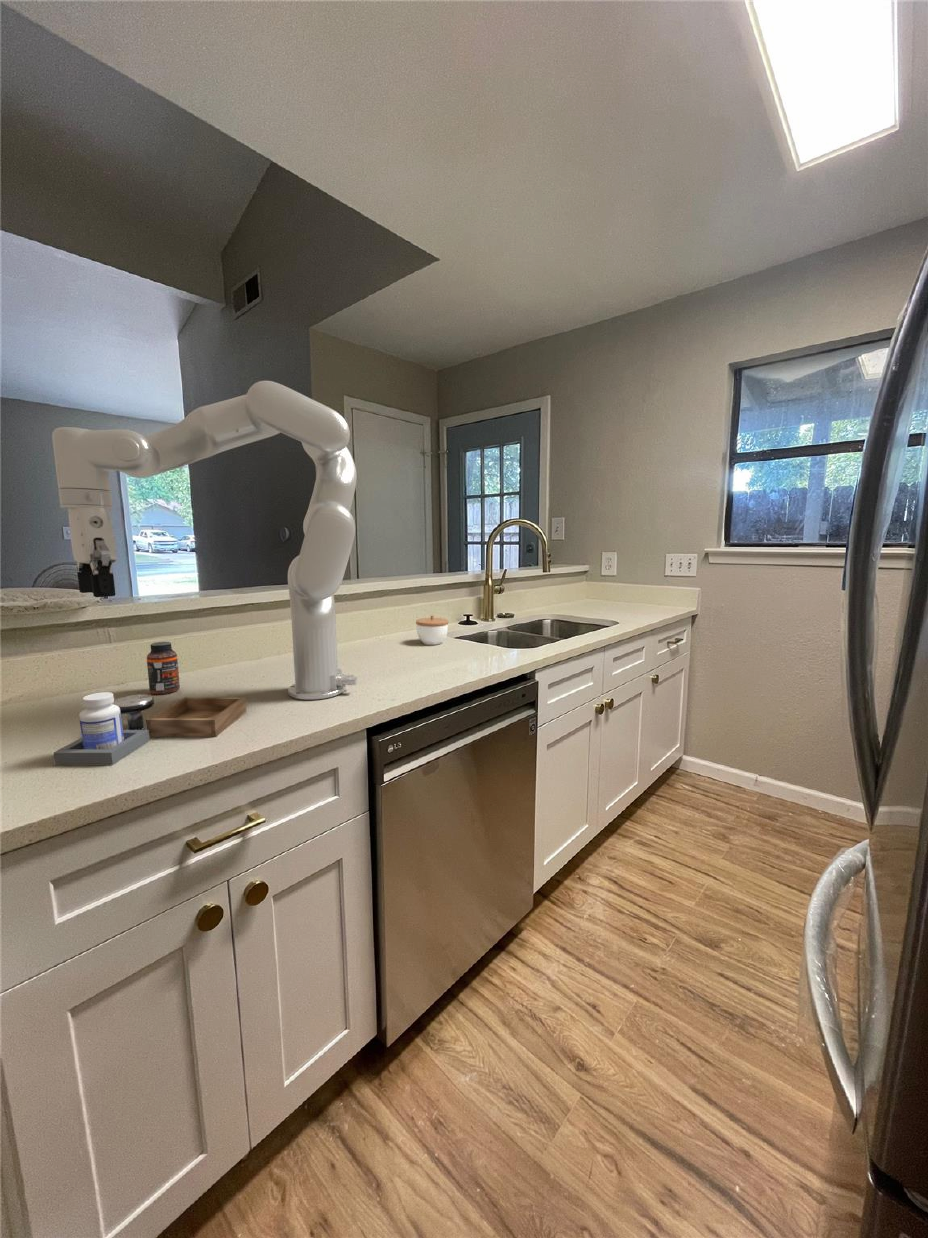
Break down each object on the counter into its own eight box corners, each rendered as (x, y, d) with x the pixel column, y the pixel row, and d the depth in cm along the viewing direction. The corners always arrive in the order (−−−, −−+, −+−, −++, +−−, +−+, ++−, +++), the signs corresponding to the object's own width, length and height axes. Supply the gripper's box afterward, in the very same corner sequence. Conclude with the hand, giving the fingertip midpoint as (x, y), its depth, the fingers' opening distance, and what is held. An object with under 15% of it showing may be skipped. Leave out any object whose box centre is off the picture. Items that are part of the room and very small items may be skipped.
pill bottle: (98, 745, 83) (91, 690, 81) (132, 744, 83) (125, 690, 81) (76, 760, 77) (67, 701, 76) (112, 759, 78) (104, 700, 76)
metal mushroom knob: (164, 722, 93) (161, 694, 92) (142, 735, 87) (138, 705, 86) (130, 722, 93) (127, 693, 92) (106, 735, 87) (102, 705, 86)
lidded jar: (455, 643, 163) (455, 615, 162) (431, 648, 156) (431, 619, 154) (433, 638, 170) (433, 612, 169) (409, 643, 163) (409, 615, 161)
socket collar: (149, 740, 85) (148, 730, 84) (112, 764, 76) (111, 752, 75) (98, 740, 85) (96, 729, 84) (55, 764, 76) (53, 752, 75)
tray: (246, 712, 99) (245, 697, 98) (216, 736, 86) (214, 720, 86) (186, 712, 99) (184, 697, 98) (147, 736, 87) (145, 719, 86)
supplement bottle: (166, 696, 108) (161, 646, 106) (143, 694, 109) (137, 645, 108) (186, 688, 114) (181, 641, 112) (164, 686, 115) (159, 639, 113)
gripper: (125, 499, 86) (135, 596, 89) (98, 503, 97) (107, 589, 100) (72, 497, 80) (84, 600, 83) (49, 501, 91) (61, 592, 94)
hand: (97, 594), depth 91 cm, fingers open, 9 cm apart
